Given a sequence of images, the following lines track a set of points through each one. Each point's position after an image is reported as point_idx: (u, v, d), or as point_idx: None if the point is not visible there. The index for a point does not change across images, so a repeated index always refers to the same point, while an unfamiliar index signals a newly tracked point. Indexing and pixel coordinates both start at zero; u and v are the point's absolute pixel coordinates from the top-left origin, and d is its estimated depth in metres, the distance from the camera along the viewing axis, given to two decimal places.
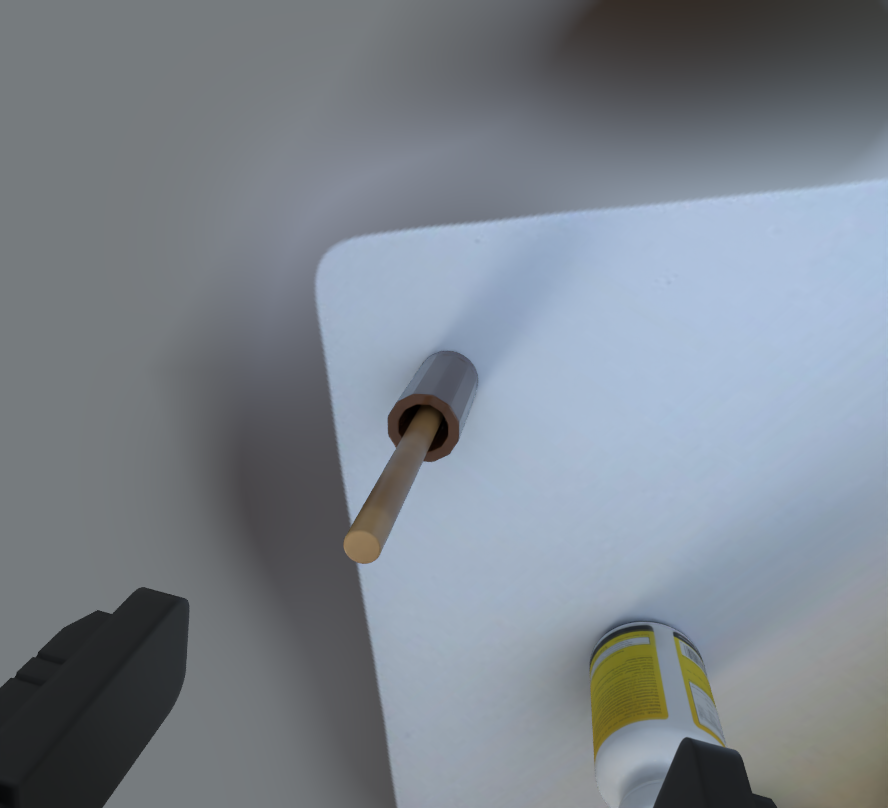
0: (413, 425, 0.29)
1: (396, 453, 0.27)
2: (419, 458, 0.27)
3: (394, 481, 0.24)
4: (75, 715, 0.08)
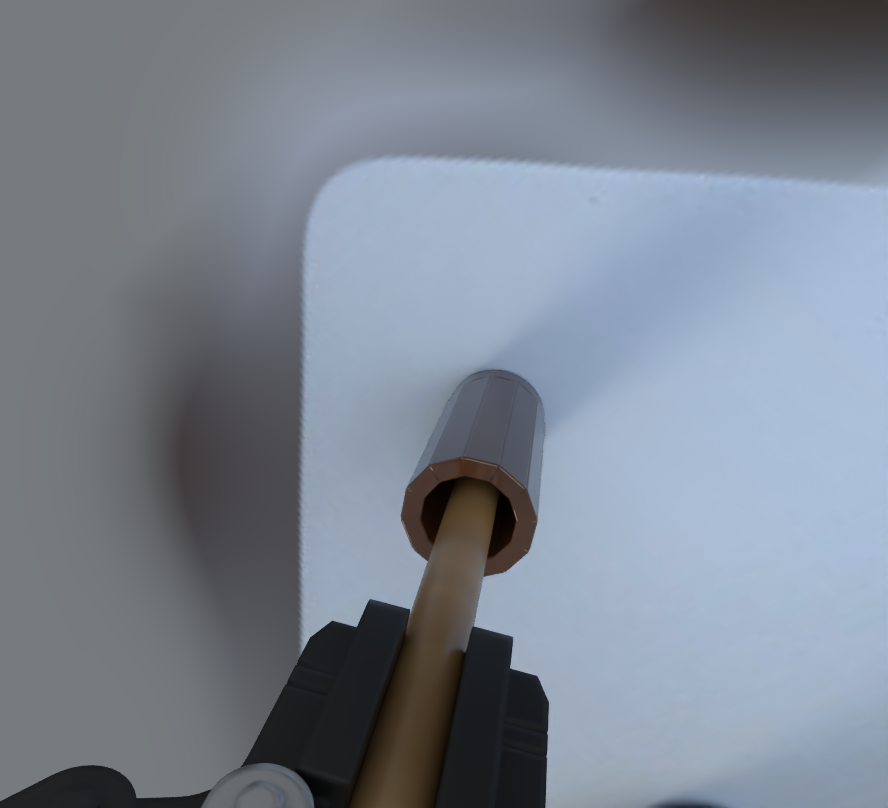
0: (457, 520, 0.15)
1: (431, 598, 0.13)
2: (474, 611, 0.13)
3: (434, 700, 0.10)
4: (366, 719, 0.09)
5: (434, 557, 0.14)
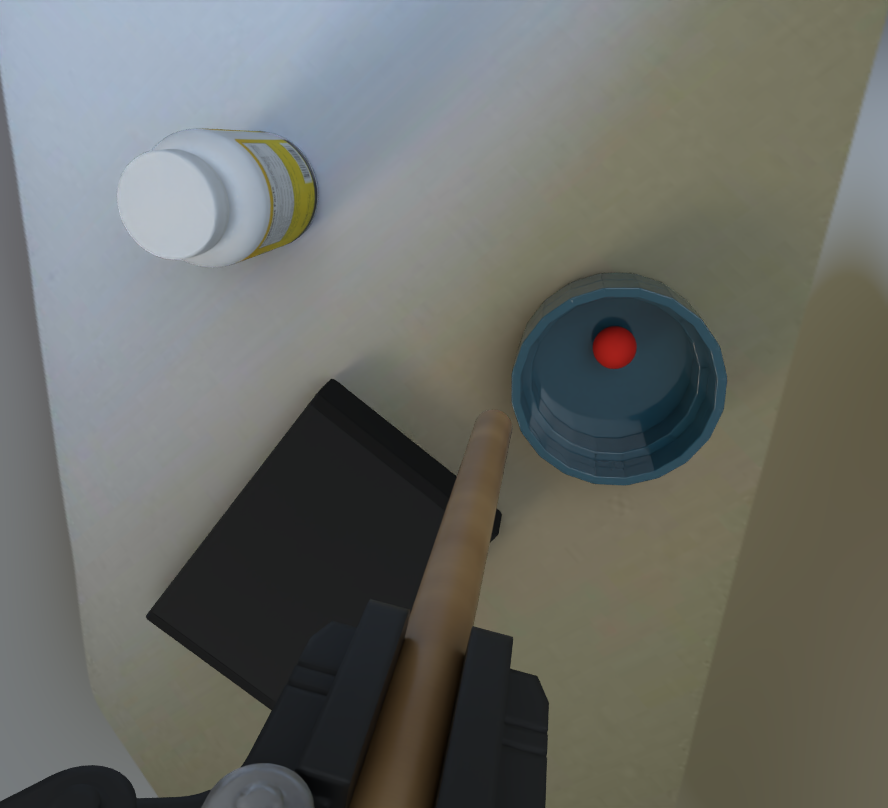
0: (457, 523, 0.15)
1: (430, 601, 0.13)
2: (473, 613, 0.13)
3: (434, 703, 0.10)
4: (366, 720, 0.09)
5: (433, 559, 0.14)
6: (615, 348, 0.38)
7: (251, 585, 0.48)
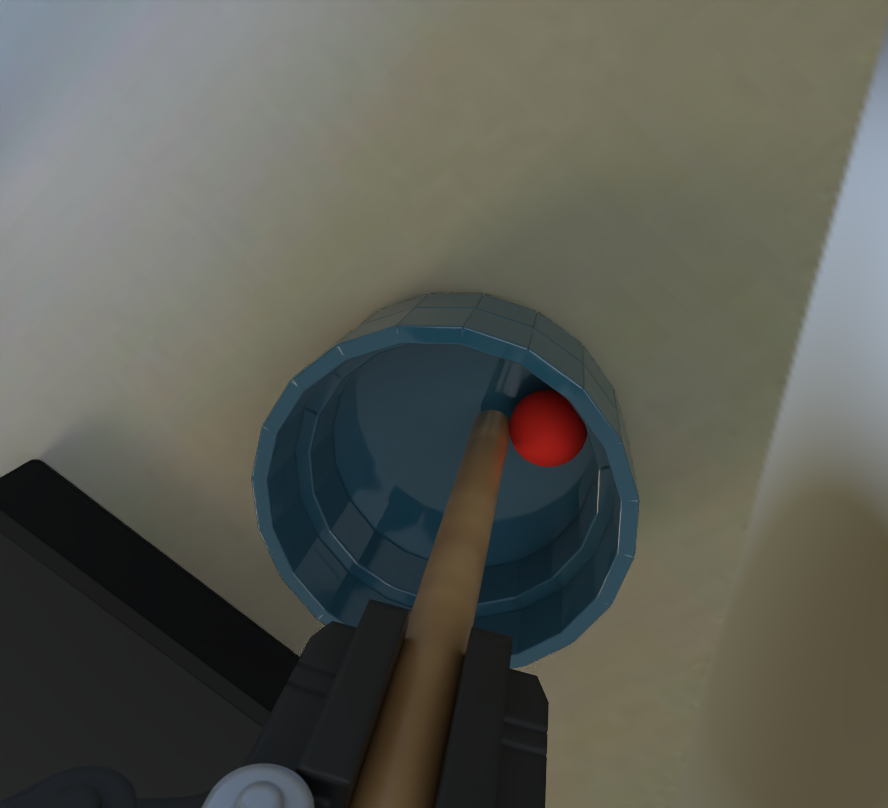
0: (457, 523, 0.15)
1: (430, 601, 0.13)
2: (473, 614, 0.13)
3: (434, 704, 0.10)
4: (366, 720, 0.09)
5: (433, 560, 0.14)
6: None
7: None
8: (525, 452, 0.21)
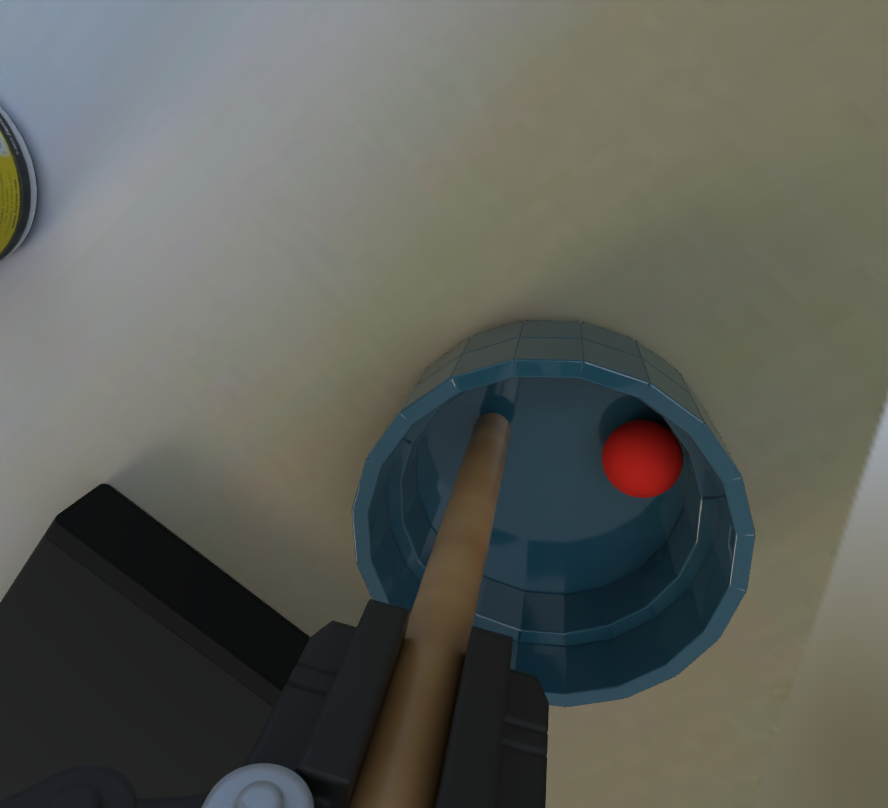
0: (459, 524, 0.15)
1: (433, 602, 0.13)
2: (473, 617, 0.13)
3: (437, 705, 0.10)
4: (366, 720, 0.09)
5: (435, 560, 0.14)
6: None
7: None
8: (618, 483, 0.21)
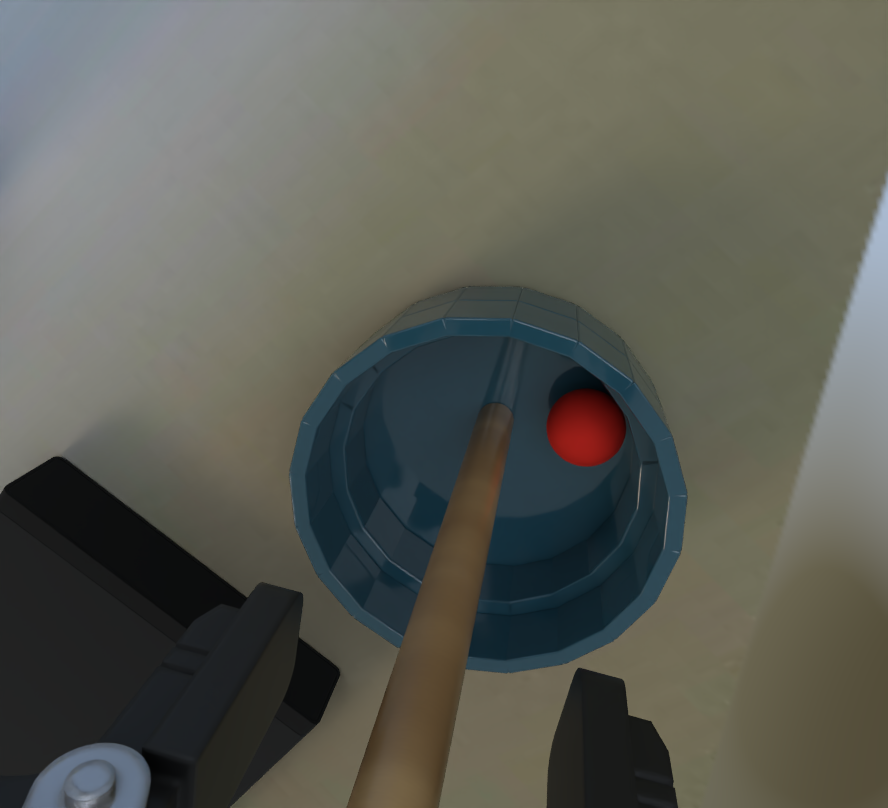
0: (464, 508, 0.16)
1: (440, 579, 0.13)
2: (478, 593, 0.14)
3: (445, 670, 0.11)
4: (229, 700, 0.09)
5: (442, 541, 0.15)
6: None
7: None
8: (562, 453, 0.21)
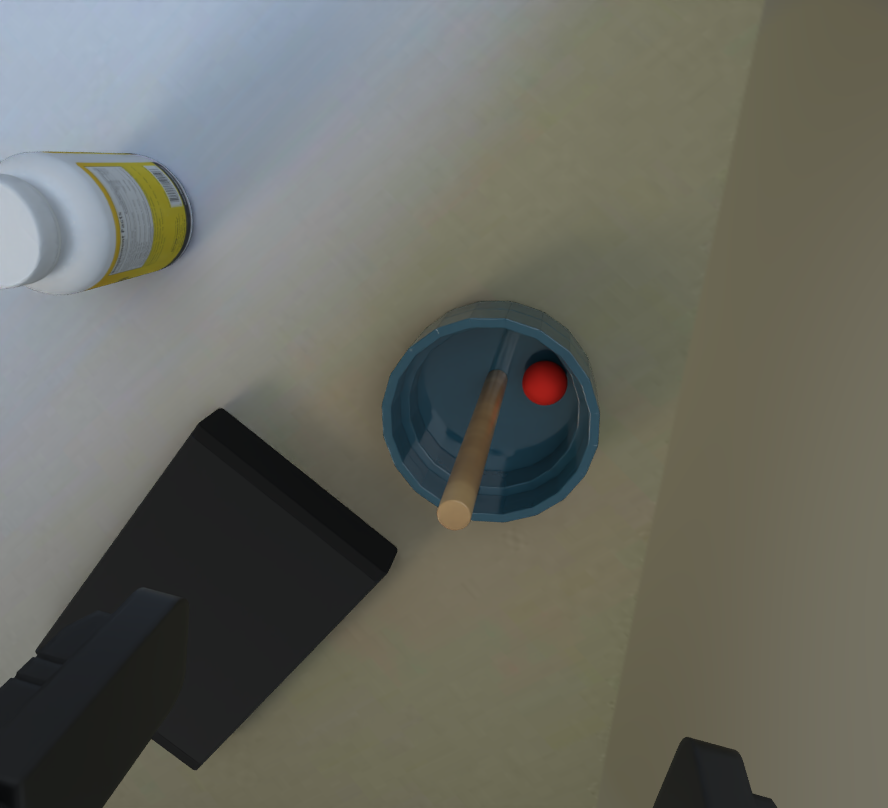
0: (481, 413, 0.32)
1: (471, 436, 0.29)
2: (489, 445, 0.29)
3: (476, 462, 0.27)
4: (75, 715, 0.08)
5: (471, 425, 0.31)
6: None
7: None
8: (528, 397, 0.37)
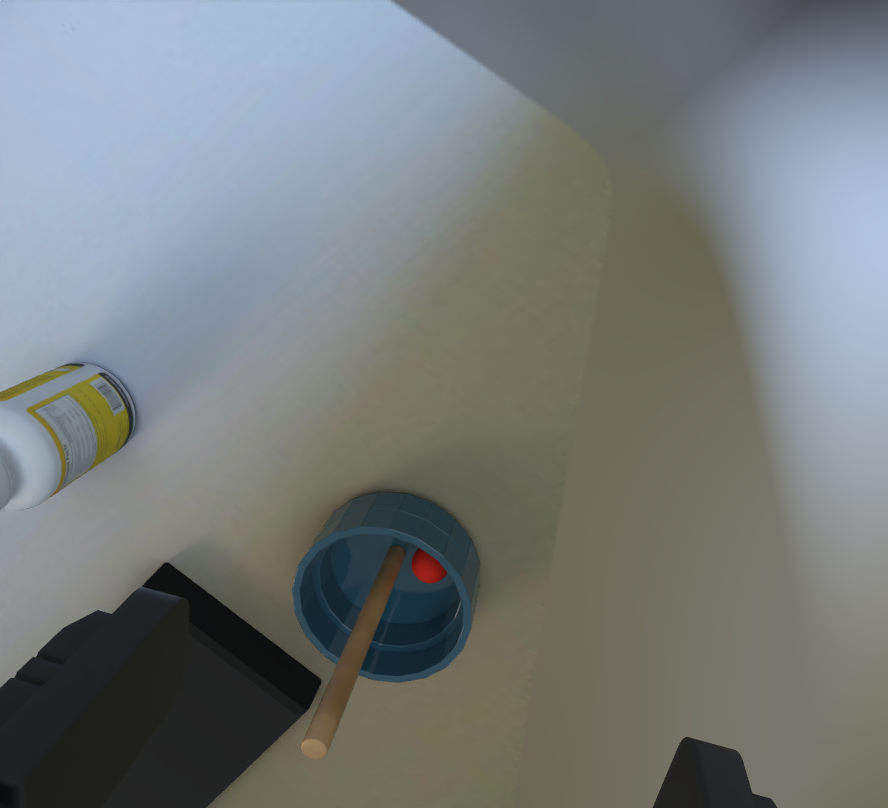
0: (365, 614, 0.38)
1: (349, 649, 0.36)
2: (365, 653, 0.36)
3: (345, 684, 0.33)
4: (75, 715, 0.08)
5: (353, 631, 0.37)
6: None
7: None
8: (415, 575, 0.43)
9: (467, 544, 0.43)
